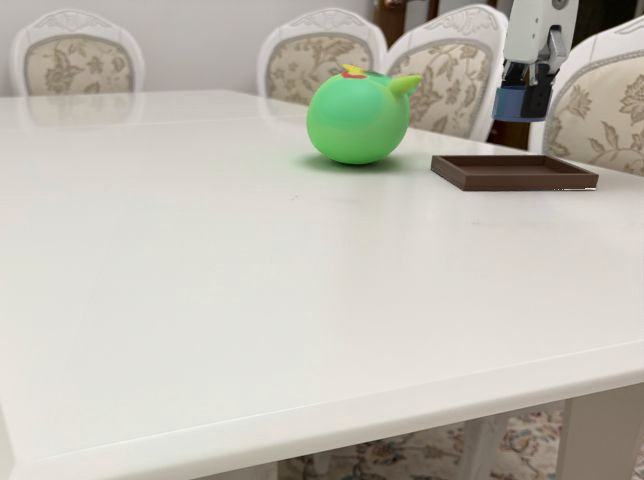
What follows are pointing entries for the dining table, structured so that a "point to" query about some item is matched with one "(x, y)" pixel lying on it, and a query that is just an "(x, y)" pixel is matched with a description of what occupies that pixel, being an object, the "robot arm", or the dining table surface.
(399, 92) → the toy bird
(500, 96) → the blue bowl
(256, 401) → the dining table surface
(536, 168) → the serving tray
